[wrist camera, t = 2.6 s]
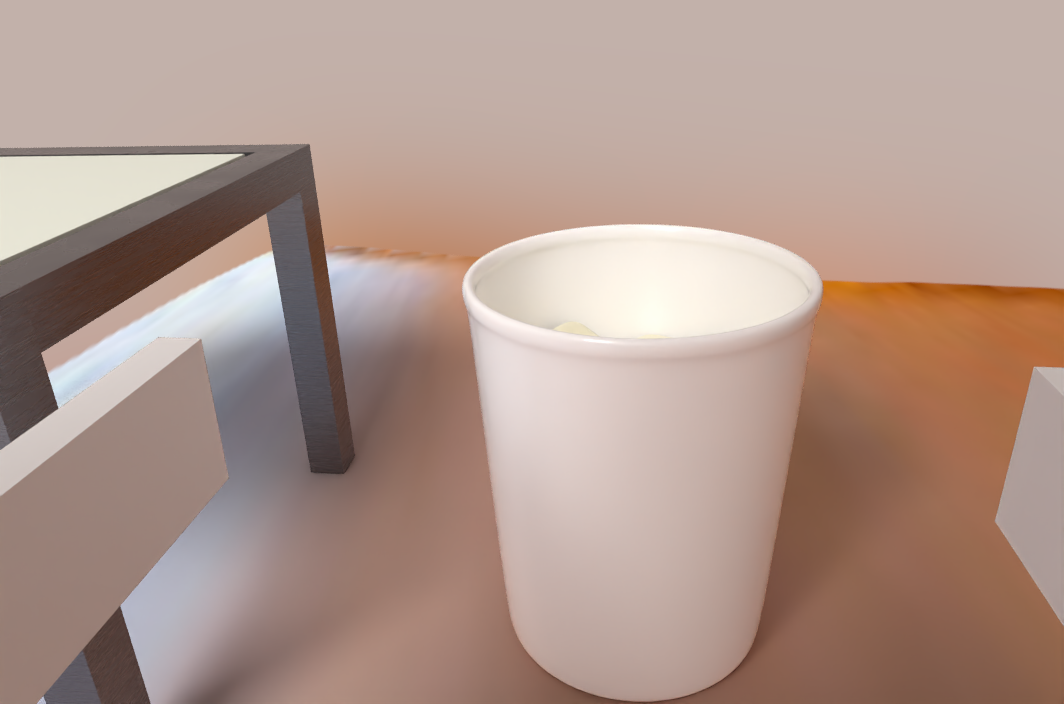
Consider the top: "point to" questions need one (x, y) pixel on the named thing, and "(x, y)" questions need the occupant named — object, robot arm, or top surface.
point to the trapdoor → (83, 192)
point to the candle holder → (639, 443)
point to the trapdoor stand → (132, 265)
